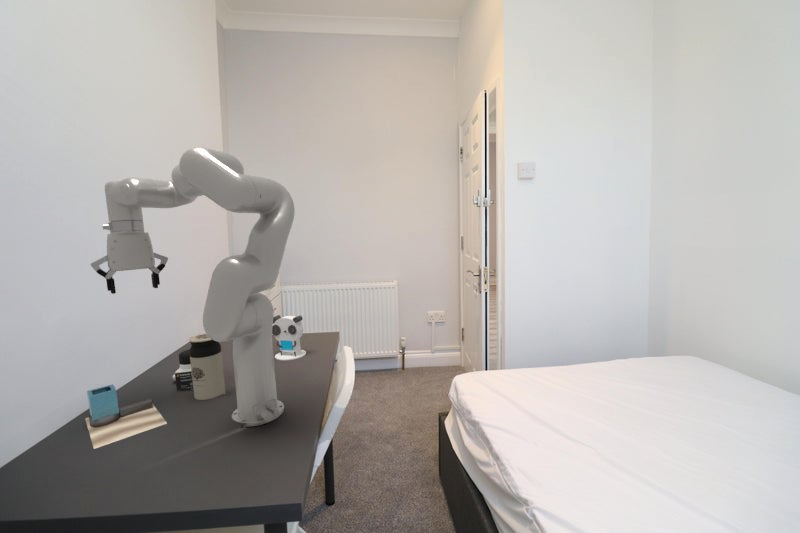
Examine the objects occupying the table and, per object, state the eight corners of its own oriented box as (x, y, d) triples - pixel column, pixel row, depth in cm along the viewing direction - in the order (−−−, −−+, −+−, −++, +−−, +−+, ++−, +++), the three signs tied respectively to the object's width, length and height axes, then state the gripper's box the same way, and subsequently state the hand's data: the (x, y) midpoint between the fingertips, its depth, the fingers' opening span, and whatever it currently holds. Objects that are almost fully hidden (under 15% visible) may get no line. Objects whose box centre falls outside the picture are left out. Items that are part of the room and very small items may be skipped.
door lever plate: (167, 427, 91) (164, 397, 90) (94, 454, 82) (89, 420, 81) (149, 403, 106) (146, 376, 105) (85, 422, 96) (81, 394, 95)
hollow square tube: (119, 412, 94) (116, 389, 93) (92, 420, 90) (89, 397, 89) (115, 406, 97) (112, 384, 97) (90, 413, 94) (86, 391, 93)
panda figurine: (267, 359, 137) (263, 319, 136) (285, 349, 148) (282, 312, 147) (295, 361, 134) (292, 320, 132) (311, 350, 145) (308, 313, 143)
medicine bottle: (176, 395, 110) (172, 356, 109) (185, 385, 117) (181, 348, 115) (203, 392, 111) (198, 353, 110) (209, 382, 118) (206, 345, 117)
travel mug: (215, 389, 113) (209, 331, 111) (231, 394, 109) (225, 334, 107) (189, 400, 106) (182, 338, 104) (205, 406, 102) (198, 342, 100)
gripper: (87, 229, 92) (96, 297, 94) (167, 226, 104) (174, 286, 106) (84, 229, 98) (93, 294, 99) (160, 227, 110) (167, 284, 111)
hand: (135, 290), depth 103 cm, fingers open, 9 cm apart
